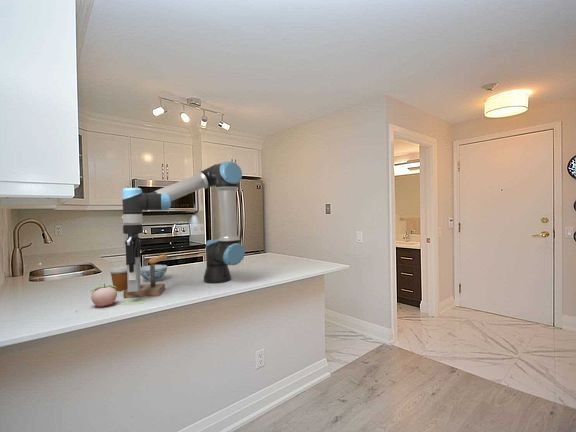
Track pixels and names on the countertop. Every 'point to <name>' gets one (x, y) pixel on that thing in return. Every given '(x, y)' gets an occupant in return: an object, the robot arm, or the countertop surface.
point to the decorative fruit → (104, 295)
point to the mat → (134, 301)
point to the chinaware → (159, 272)
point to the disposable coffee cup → (119, 277)
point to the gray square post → (135, 284)
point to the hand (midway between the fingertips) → (134, 278)
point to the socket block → (147, 287)
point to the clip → (157, 258)
